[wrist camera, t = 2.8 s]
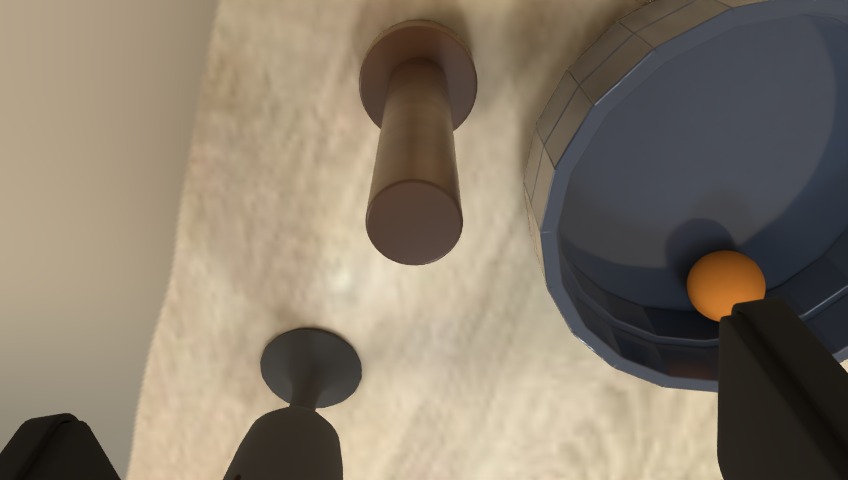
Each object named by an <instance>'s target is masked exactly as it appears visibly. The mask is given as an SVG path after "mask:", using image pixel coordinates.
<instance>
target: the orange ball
mask: <svg viewBox="0 0 848 480" xmlns="http://www.w3.org/2000/svg"><path fill="white" fill-rule="evenodd" d="M765 289H766V285H765V279H764V276H763V274H762V271H761V270H760V268H759V267H758V265H757V264H756V263H755V262H754V261H753V260H751V259H750V258H749V257H747V256H745V255H743V254H741V253H738V252H734V251H727V250H723V251H716V252H712V253H709V254H707V255H705V256H703V257H702V258H700V259H699V260H698V261H697V262H696V263H695V264H694V266H693V267H692V268H691V270H690V272H689V275H688V279H687V292H688V296H689V298H690V301H691V303H692V304H693V306H694V307H695V308H696V309H697V310H698V311H699V312H700V313H701V314H703V315H704V316H706V317H708V318H709V319H712V320H715V321H719V322H720V319H721V317H723V316H727V315H731V309H732V307H733V305H734V304H736V303H741V302H747V301H753V300H759V299H764V296H765Z"/></svg>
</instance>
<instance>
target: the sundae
mask: <svg viewBox="0 0 848 480" xmlns="http://www.w3.org/2000/svg"><path fill="white" fill-rule="evenodd" d="M260 363H261V372H262V377H263V379H264V381H265V382H266V384H267V385H268V387H269V388H270V389H271V391H272V392H273V393H275V394H276V395H277V396H278V397H279V398H281V399H282V400H284V401H286V402H287V403H290V405H289V407H286V408H282V409H278V410H275V411H272V412H269V413H266V414H265V415H263V416H261V417H260V418H259V419H257V420H256V421H255V422H254V423H253V425H252V426H251V428H250V429H249V431H248V433H247V434H246V436H245V437H244V439H243V441H242V442H241V444H240V446H239V448H238V450H237V452H236V454H235V456H234V458H233V460H232V462H231V464H230V466H229V468H228V470H227V472H226V474H225V476H224V478H223V480H343V465H342V457H341V449H340V442H339V437H338V434H337V433H336V431H335V429H334V428H333V426H332V425H331V424H330V423H329V422H328V421H327V420H326V419H324V418H323V417H322V416H321V415H319V414H318V413H317V412H315V409H316V408H325V407H328V406H332V405H335V404H338V403H340V402H342V401H344V400H345V399H347V398H348V397H349V396H350V395H352V394H353V393H354V392H355V390H356V388H357V387H358V385H359V382H360V380H361V371H362V370H361V363H360V361H359V358H358V356H357V355H356V353H355V352H354V350H353V349H352V347H350V346H349V345H348V344H347V343H346V342H345V341H343V340H342V339H340V338H339V337H337V336H335V335H332V334H330V333H327V332H324V331H320V330H312V329H302V330H294V331H291V332H287V333H285V334H282V335H280V336H278V337H277V338H276V339H274V340H273V341H272V342H271V343H270V344H269V345H268V346H267V347H266V348H265V350H264V353H263V355H262V358H261V362H260Z"/></svg>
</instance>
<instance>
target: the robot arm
mask: <svg viewBox="0 0 848 480" xmlns="http://www.w3.org/2000/svg"><path fill="white" fill-rule="evenodd" d="M717 457H718V463H719V467H720V471H721V474H722V476H723V479H724V480H848V373H847V372H846V370H845V369H844V368H843V367H842V366H841V365H840V364H839V362H838V361H837V360H836V359H835V358H834V357H833V356H832V354H831V353H830V352H829V351H828V350H827V349H826V348H825V346H824V345H823V344H822V343H821V342H820V341H819V340H818V338H817V337H816V336H815V335H814V334H813V333H812V332H811V330H810V329H809V328H808V327H807V326H806V325H805V324H804V322H803V321H802V320H801V319H800V318H799V317H798V316H797V314H796V313H795V312H794V311H793V310H792V309H791V308H790V306H789V305H788V304H787V303H786V302H785V301H784V300H783V299H782V298H780V297H771V298H765V299H759V300H753V301H747V302H741V303H736V304H734V305H733V307H732V309H731V315H727V316H723V317H721V319H720V322H719V366H718V433H717ZM0 480H121V479H120V478H119V476H118V474H117V473H116V471H115V470H114V468H113V466H112V464H111V463H110V461H109V459H108V457H107V456H106V454H105V452H104V451H103V449H102V447H101V446H100V444H99V442H98V441H97V439H96V437H95V436H94V434H93V432H92V431H91V429H90V427H89V426H88V425H87V423H85V422H83V421H79V420H78V419H77V418H76V417H75V416H74V415H72V414H70V413H63V414H57V415H50V416H45V417H38V418H32V419H29V420H27V421H25V422H24V423H23V424H22V425H21V426H20V427H19V429H18V430H17V431H16V433H15V434H14V436H13V437H12V438H11V440H10V441H9V442H8V444H7V445H6V446H5V448H4V449H3V451H2V452H1V453H0Z"/></svg>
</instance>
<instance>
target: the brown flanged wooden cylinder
mask: <svg viewBox="0 0 848 480" xmlns="http://www.w3.org/2000/svg"><path fill="white" fill-rule="evenodd" d="M359 91H360V96H361V100H362V103H363V106H364V108H365V110H366V112H367V114H368V115H369V117H370V118H371V120H372V121H373V122H374V123H375V124H376V125H377V126H378V127H379V128H380V129H381V131H380V137H379V142H378V148H377V154H376V160H375V166H374V172H373V177H372V183H371V189H370V195H369V201H368V206H367V212H366V230H367V233H368V236H369V238H370V240H371V242H372V244H373V245H374V246H375V248H376V249H377V250H378V251H379V252H380V253H381V254H383V255H384V256H385V257H387V258H388V259H390V260H392V261H395V262H398V263H401V264H405V265H424V264H428V263H431V262H434V261H437V260H439V259H440V258H442V257H444V256H445V255H446V254H447V253H449V252H450V251H451V250H452V249H453V247H454V246H455V245H456V243H457V242H458V240H459V238H460V235H461V232H462V227H463V217H462V208H461V199H460V190H459V181H458V172H457V163H456V154H455V145H454V136H453V131H454V130H456V129H457V128H458V127H459V126H460V125H461V124H462V123H463V122H464V121H465V119H466V118H467V117H468V115H469V113H470V112H471V110H472V107H473V105H474V102H475V99H476V94H477V74H476V70H475V66H474V62H473V59H472V56H471V54H470V52H469V50H468V48H467V46H466V45H465V44H464V42H463V41H462V40H461V39H460V38H459V37H458V36H457V35H456V34H455V33H454V32H453V31H451V30H450V29H448V28H446V27H445V26H442V25H440V24H438V23H435V22H431V21H425V20H412V21H406V22H402V23H399V24H396V25H394V26H392V27H390V28H388V29H387V30H385V31H384V32H383V33H381V34H380V35H379V36H378V37H377V38H376V39H375V40H374V42H373V43H372V44H371V46H370V47H369V49H368V51H367V53H366V56H365V58H364V61H363V64H362V67H361V71H360V77H359Z"/></svg>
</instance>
